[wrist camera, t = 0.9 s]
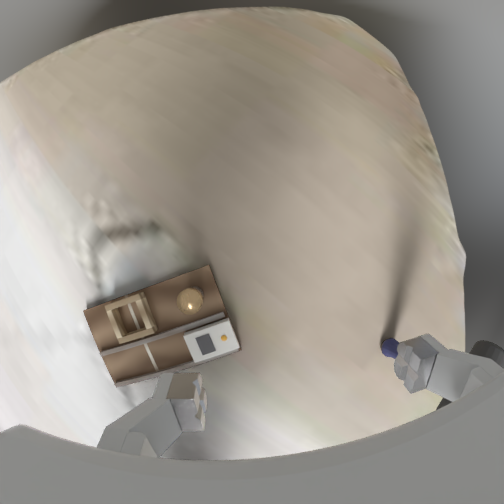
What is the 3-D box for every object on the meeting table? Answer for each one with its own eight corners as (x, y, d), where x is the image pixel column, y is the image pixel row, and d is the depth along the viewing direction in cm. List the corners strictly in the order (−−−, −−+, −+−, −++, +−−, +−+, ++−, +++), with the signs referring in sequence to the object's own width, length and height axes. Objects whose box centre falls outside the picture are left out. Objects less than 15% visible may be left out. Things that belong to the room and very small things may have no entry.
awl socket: (158, 329, 44) (154, 333, 41) (125, 339, 44) (119, 344, 41) (143, 291, 44) (138, 293, 41) (110, 303, 44) (104, 305, 41)
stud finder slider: (238, 343, 45) (239, 348, 42) (196, 357, 44) (194, 363, 41) (228, 317, 45) (228, 321, 42) (185, 332, 44) (182, 337, 41)
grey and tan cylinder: (208, 301, 46) (205, 309, 37) (189, 308, 45) (182, 318, 37) (201, 281, 46) (196, 285, 37) (181, 288, 45) (172, 294, 37)
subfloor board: (241, 347, 47) (242, 351, 45) (119, 383, 44) (115, 388, 42) (209, 264, 47) (208, 264, 45) (86, 309, 44) (80, 311, 42)
